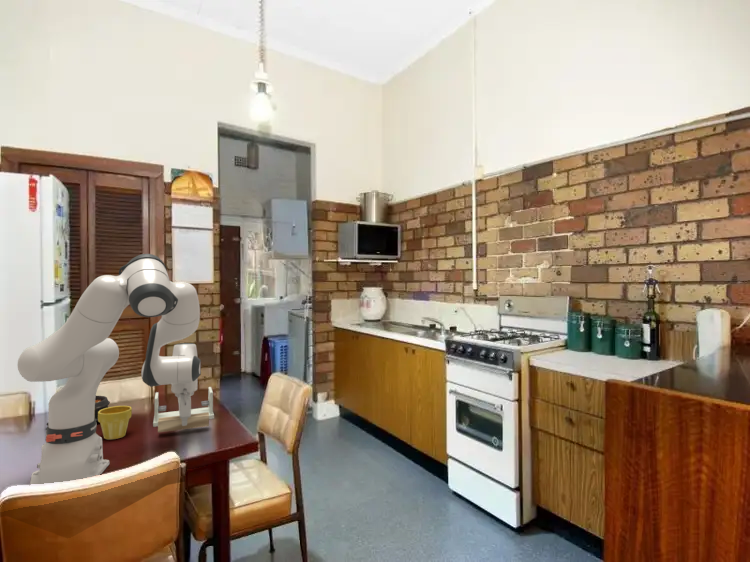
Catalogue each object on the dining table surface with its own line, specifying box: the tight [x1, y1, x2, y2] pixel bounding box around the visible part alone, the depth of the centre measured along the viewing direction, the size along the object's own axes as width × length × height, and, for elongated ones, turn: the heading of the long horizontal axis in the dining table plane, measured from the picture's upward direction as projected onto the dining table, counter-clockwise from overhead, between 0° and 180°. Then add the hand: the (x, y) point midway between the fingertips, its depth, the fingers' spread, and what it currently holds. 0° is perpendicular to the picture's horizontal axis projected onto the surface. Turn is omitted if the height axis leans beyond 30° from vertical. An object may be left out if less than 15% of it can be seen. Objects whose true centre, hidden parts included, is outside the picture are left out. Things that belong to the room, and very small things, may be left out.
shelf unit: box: [152, 386, 215, 428], centre depth 168 cm, size 12×22×10 cm, turn 116°
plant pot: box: [97, 405, 133, 441], centre depth 148 cm, size 10×10×10 cm
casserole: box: [46, 395, 111, 426], centre depth 164 cm, size 25×19×8 cm
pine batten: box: [157, 412, 210, 433], centre depth 152 cm, size 4×17×4 cm, turn 114°
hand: (184, 422), depth 152 cm, fingers closed on pine batten, 4 cm apart
